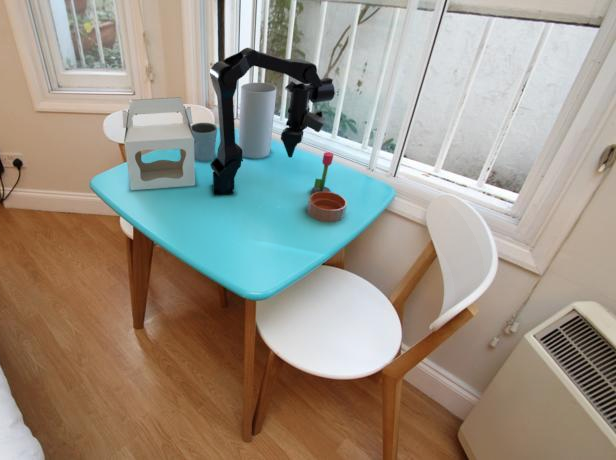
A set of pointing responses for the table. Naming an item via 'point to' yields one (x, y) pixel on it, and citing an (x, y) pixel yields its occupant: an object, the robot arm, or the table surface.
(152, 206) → the table surface
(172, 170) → the gable box
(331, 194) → the bowl
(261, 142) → the cylinder vase
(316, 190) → the tulip
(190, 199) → the table surface
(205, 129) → the grey cup
